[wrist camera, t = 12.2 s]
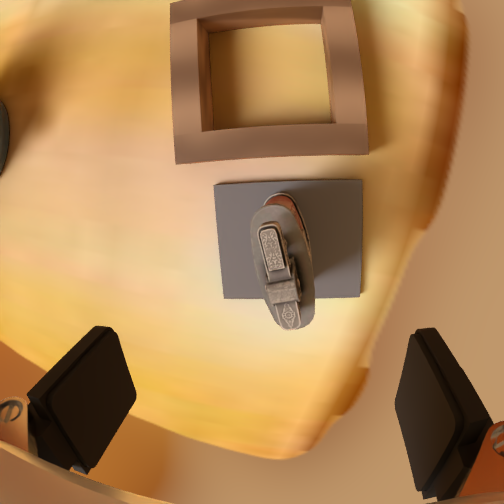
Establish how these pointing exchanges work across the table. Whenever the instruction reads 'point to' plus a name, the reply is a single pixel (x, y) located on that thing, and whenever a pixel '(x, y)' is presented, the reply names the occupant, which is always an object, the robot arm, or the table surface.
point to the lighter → (284, 261)
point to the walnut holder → (263, 137)
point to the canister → (3, 134)
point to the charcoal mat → (318, 226)
